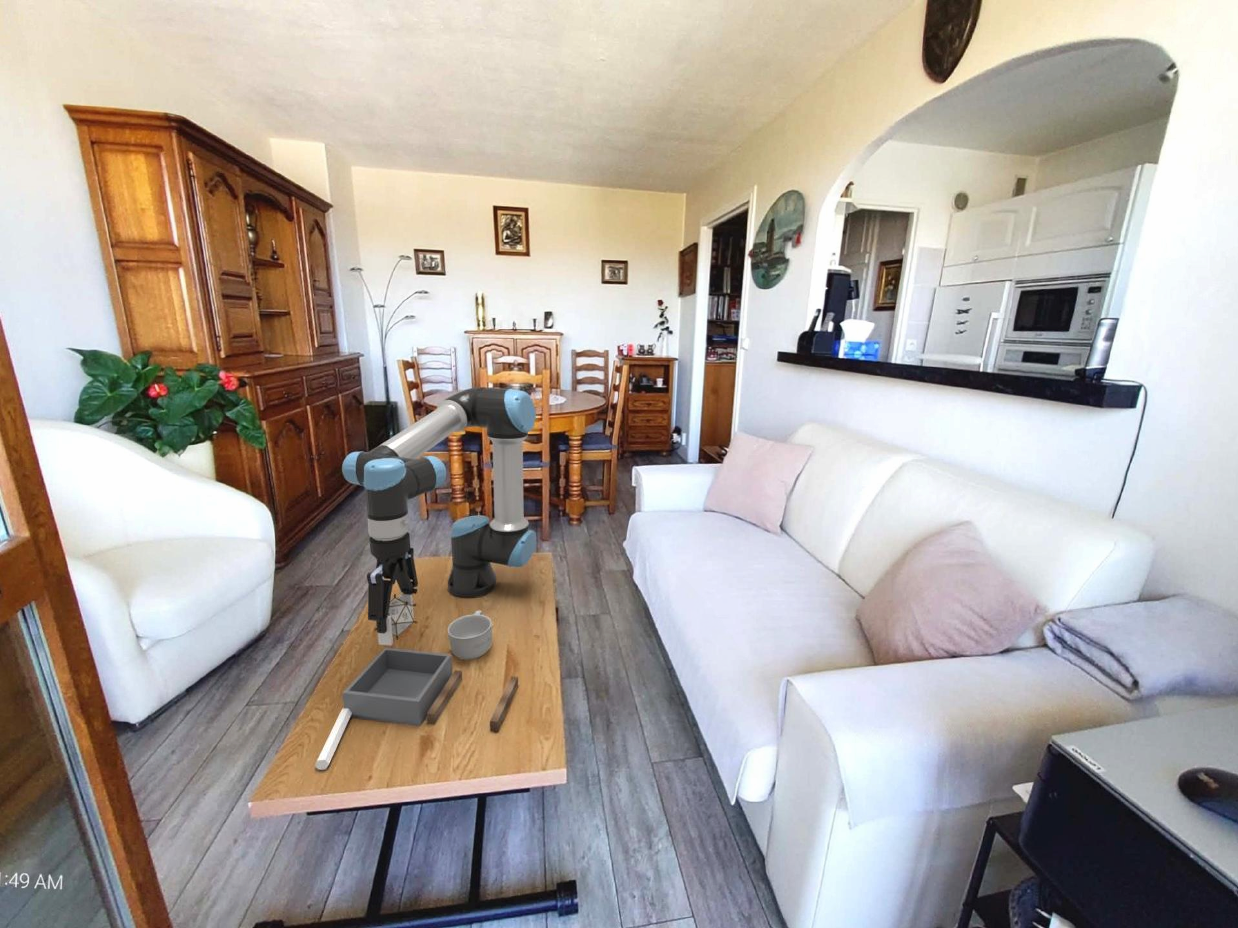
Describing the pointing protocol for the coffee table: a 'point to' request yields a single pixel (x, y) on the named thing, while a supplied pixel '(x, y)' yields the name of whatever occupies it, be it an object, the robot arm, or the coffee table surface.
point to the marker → (333, 739)
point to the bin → (398, 686)
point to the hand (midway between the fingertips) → (397, 631)
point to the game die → (400, 616)
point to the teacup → (470, 635)
